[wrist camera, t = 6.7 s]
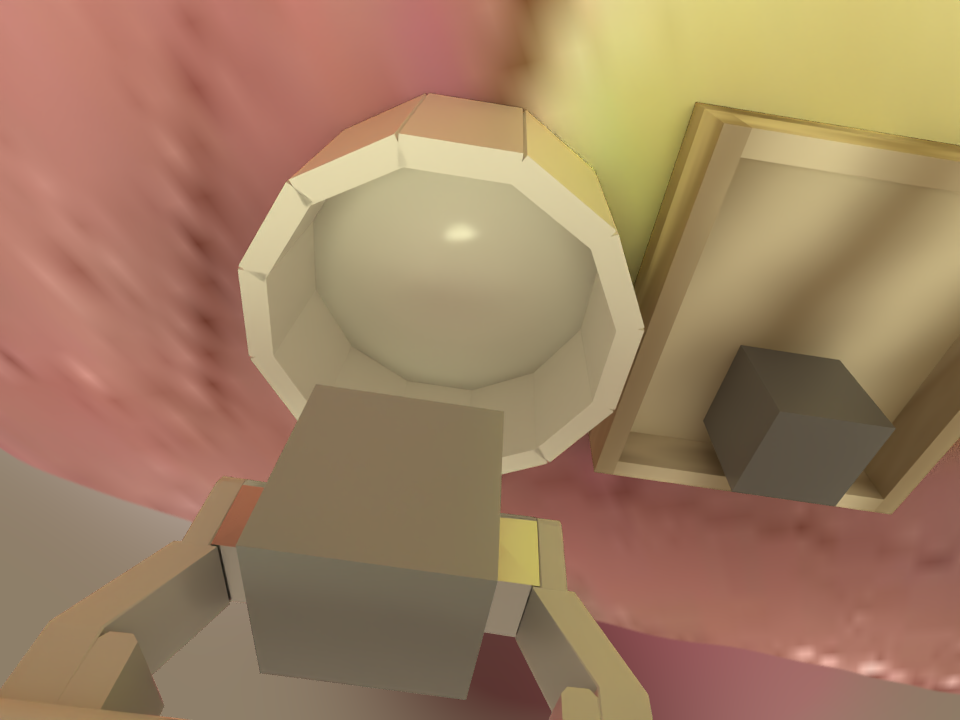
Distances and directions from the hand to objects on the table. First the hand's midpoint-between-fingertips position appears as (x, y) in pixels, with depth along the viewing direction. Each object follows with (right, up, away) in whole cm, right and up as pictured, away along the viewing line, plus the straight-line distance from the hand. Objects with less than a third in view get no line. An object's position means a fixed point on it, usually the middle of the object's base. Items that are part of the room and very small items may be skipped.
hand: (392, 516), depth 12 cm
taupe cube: (0, +1, +1) cm, 1 cm away
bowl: (+1, +7, +10) cm, 12 cm away
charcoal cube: (+14, +2, +11) cm, 18 cm away
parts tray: (+14, +5, +10) cm, 18 cm away
